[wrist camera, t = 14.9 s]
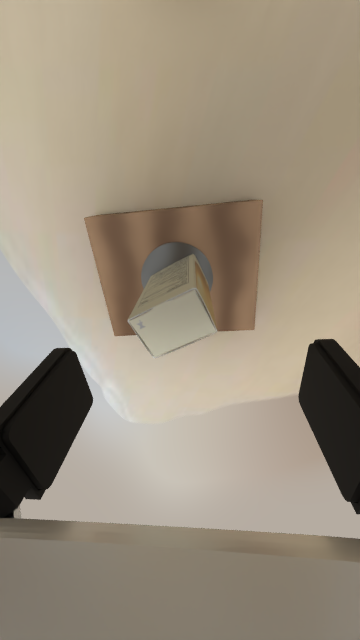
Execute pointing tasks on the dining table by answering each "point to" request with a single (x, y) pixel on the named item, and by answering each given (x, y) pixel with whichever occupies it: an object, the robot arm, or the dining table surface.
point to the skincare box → (174, 308)
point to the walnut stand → (180, 256)
